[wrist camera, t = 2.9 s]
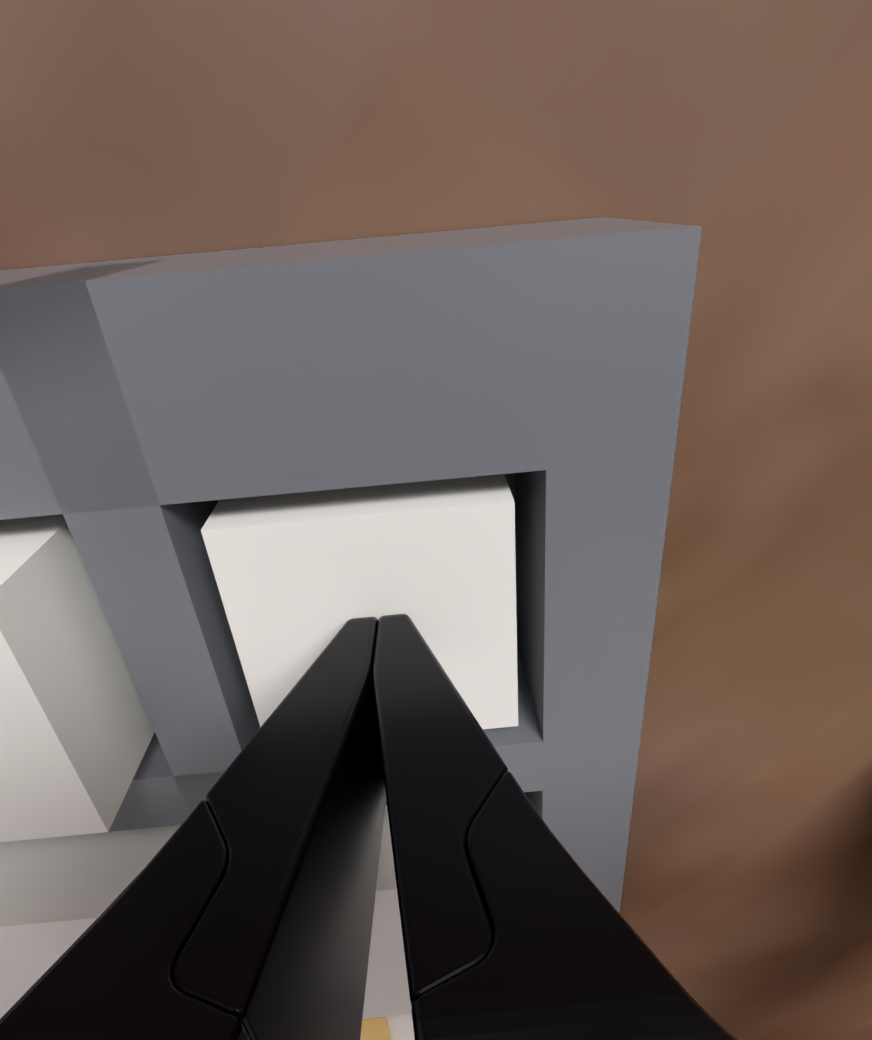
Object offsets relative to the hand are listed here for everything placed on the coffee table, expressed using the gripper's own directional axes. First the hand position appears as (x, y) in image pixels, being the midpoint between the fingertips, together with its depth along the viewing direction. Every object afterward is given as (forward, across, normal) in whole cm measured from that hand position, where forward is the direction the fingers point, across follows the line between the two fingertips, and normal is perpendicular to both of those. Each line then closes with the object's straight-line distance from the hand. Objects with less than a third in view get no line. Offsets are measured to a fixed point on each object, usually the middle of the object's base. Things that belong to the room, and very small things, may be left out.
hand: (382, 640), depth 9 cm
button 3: (+3, 0, 0) cm, 3 cm away
